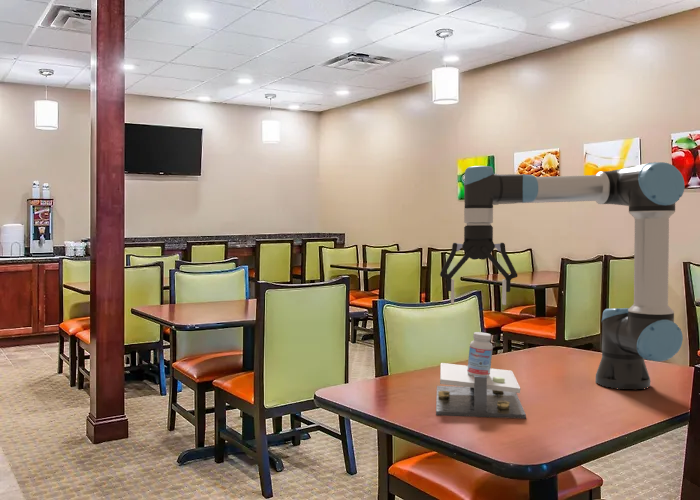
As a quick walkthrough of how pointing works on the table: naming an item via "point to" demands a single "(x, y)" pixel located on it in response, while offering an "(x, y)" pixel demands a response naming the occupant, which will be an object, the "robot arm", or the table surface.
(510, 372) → the stage
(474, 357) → the pill bottle
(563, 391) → the table surface
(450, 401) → the grey stand base
